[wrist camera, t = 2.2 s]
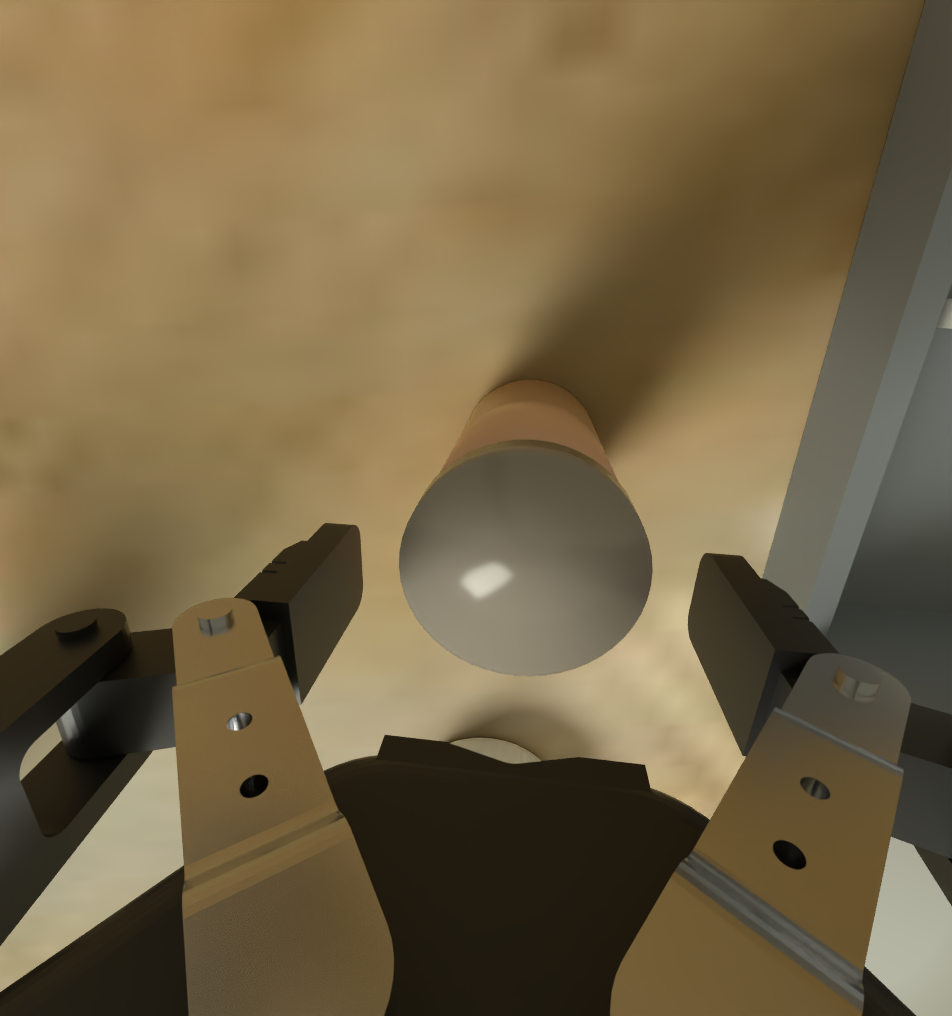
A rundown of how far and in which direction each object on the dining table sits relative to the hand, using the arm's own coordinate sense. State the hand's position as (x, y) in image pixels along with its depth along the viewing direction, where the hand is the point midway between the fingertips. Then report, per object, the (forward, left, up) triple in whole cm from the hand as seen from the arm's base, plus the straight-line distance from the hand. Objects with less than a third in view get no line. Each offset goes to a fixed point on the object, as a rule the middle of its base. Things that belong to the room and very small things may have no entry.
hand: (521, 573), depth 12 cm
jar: (0, 0, -10) cm, 10 cm away
